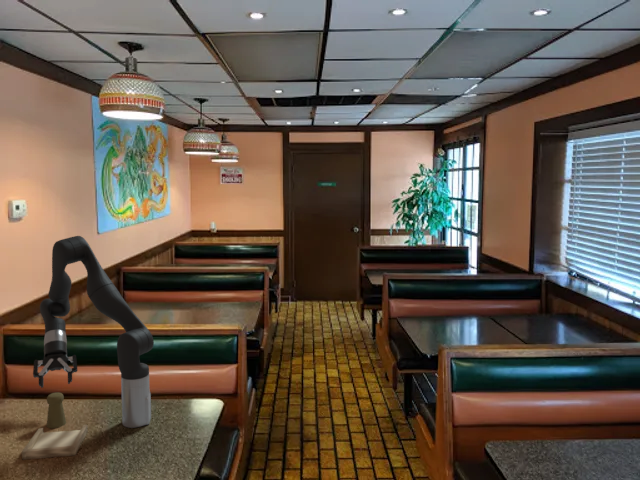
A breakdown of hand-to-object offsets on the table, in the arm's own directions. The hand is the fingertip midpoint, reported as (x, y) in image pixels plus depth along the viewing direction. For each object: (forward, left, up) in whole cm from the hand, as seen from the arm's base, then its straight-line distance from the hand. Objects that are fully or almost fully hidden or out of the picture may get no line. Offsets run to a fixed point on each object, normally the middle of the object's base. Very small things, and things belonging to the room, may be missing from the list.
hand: (55, 384), depth 177 cm
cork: (-2, +7, -12) cm, 14 cm away
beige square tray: (-6, +22, -12) cm, 25 cm away
